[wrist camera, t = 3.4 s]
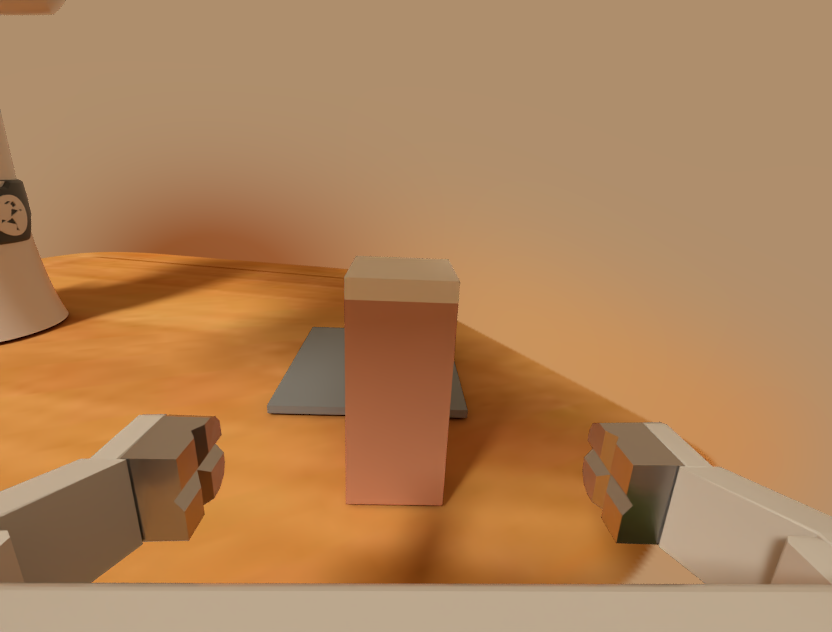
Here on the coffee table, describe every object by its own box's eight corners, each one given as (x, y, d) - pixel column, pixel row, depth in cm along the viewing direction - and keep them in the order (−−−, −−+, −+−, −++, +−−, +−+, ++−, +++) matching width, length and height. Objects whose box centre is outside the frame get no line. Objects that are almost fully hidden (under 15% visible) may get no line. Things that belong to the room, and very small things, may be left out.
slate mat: (267, 413, 30) (267, 405, 30) (313, 332, 45) (312, 326, 45) (466, 417, 31) (467, 410, 30) (445, 336, 46) (446, 331, 46)
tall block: (345, 504, 22) (343, 277, 18) (356, 445, 27) (356, 255, 23) (442, 505, 22) (460, 281, 19) (435, 447, 27) (448, 259, 23)
